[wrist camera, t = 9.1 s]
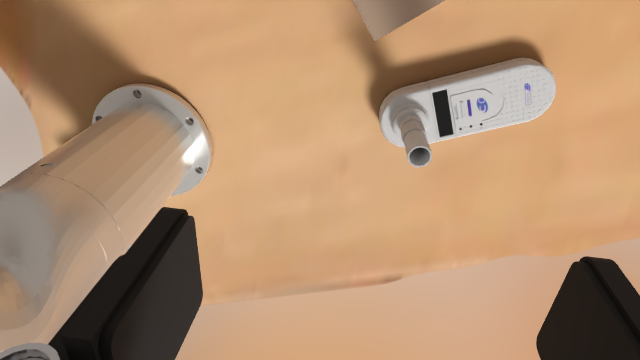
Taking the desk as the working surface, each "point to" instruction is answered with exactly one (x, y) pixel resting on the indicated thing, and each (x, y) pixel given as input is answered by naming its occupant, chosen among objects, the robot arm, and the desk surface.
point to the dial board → (390, 13)
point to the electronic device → (465, 105)
